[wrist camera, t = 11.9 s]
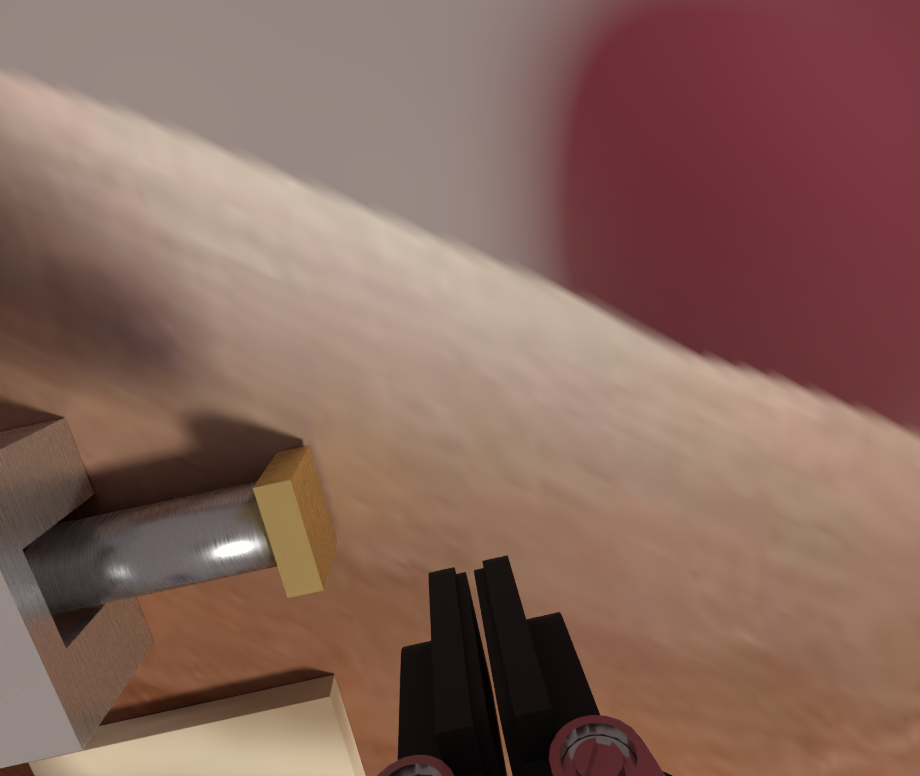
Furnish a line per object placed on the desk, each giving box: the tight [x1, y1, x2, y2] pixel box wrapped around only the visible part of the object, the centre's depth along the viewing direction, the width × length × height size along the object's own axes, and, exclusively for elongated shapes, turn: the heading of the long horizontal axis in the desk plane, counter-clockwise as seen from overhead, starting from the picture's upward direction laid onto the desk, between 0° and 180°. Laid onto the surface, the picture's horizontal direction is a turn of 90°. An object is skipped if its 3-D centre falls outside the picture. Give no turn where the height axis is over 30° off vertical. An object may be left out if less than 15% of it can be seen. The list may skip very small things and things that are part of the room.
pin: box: [25, 445, 337, 614], centre depth 20 cm, size 4×9×3 cm, turn 101°
